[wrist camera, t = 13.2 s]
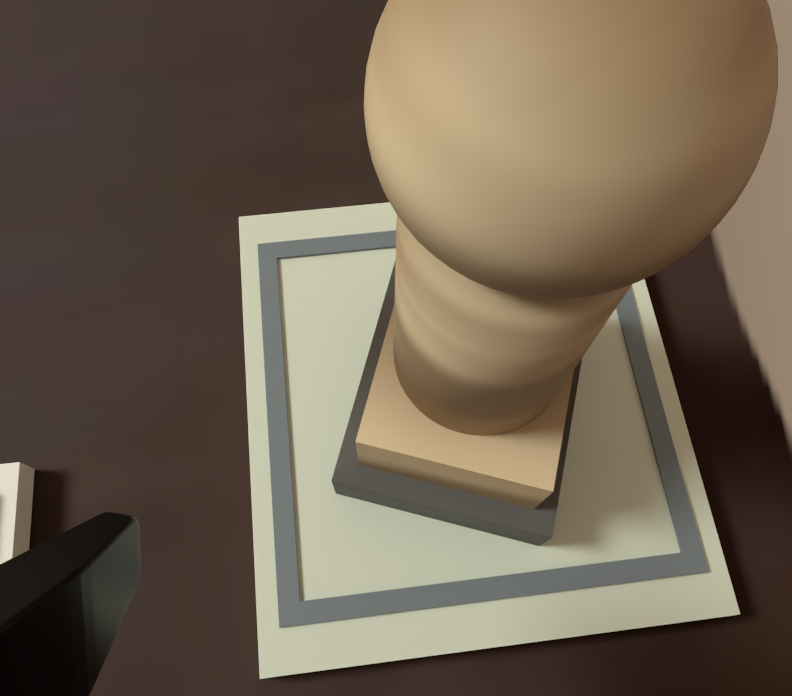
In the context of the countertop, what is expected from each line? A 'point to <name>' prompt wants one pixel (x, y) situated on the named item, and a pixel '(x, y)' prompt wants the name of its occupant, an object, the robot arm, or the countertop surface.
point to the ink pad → (15, 509)
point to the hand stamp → (533, 224)
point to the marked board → (433, 539)
